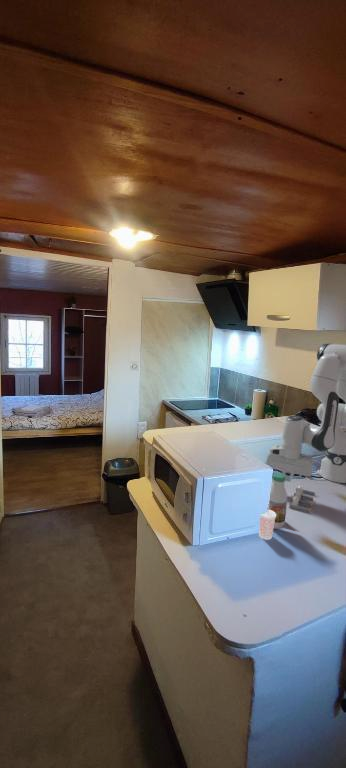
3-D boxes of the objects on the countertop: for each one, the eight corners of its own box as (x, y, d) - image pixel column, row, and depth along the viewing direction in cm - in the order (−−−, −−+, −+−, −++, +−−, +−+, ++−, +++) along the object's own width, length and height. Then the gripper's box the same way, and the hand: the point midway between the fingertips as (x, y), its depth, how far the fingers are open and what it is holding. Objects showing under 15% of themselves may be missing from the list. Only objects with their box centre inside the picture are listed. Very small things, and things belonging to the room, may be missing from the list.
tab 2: (295, 497, 160) (296, 489, 160) (300, 499, 160) (301, 490, 159) (294, 500, 158) (295, 491, 157) (299, 501, 157) (300, 493, 156)
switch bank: (295, 490, 171) (296, 485, 170) (316, 495, 166) (316, 490, 166) (286, 512, 149) (287, 506, 149) (309, 518, 145) (310, 512, 145)
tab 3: (293, 503, 155) (294, 494, 154) (298, 504, 154) (299, 495, 154) (292, 506, 153) (293, 497, 152) (297, 507, 152) (298, 498, 151)
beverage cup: (256, 539, 129) (260, 502, 127) (256, 530, 135) (260, 495, 133) (274, 542, 128) (278, 505, 126) (273, 532, 134) (277, 497, 132)
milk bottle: (259, 520, 142) (264, 472, 139) (275, 517, 145) (280, 470, 142) (272, 531, 135) (278, 481, 132) (288, 527, 138) (294, 478, 135)
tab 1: (297, 492, 166) (298, 484, 165) (302, 493, 165) (303, 485, 164) (296, 495, 163) (297, 486, 162) (301, 496, 162) (302, 487, 162)
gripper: (315, 454, 161) (312, 483, 163) (269, 445, 170) (266, 473, 172) (314, 458, 156) (310, 488, 158) (266, 449, 165) (263, 477, 167)
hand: (287, 480), depth 165 cm, fingers closed
